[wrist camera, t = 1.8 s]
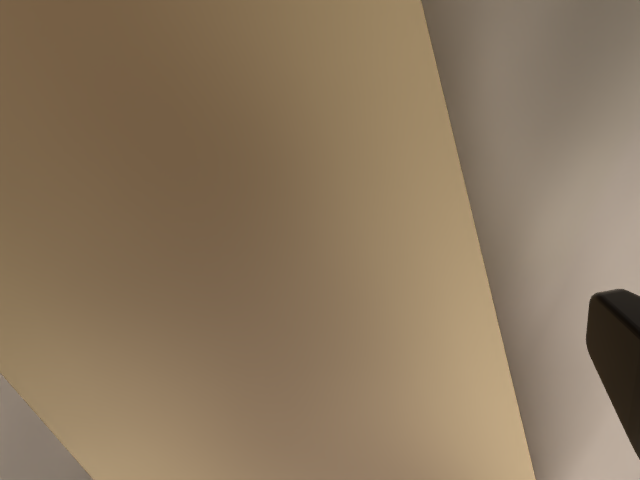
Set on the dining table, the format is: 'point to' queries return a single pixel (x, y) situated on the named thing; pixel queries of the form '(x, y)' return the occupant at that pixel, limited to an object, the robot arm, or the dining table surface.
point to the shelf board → (245, 245)
